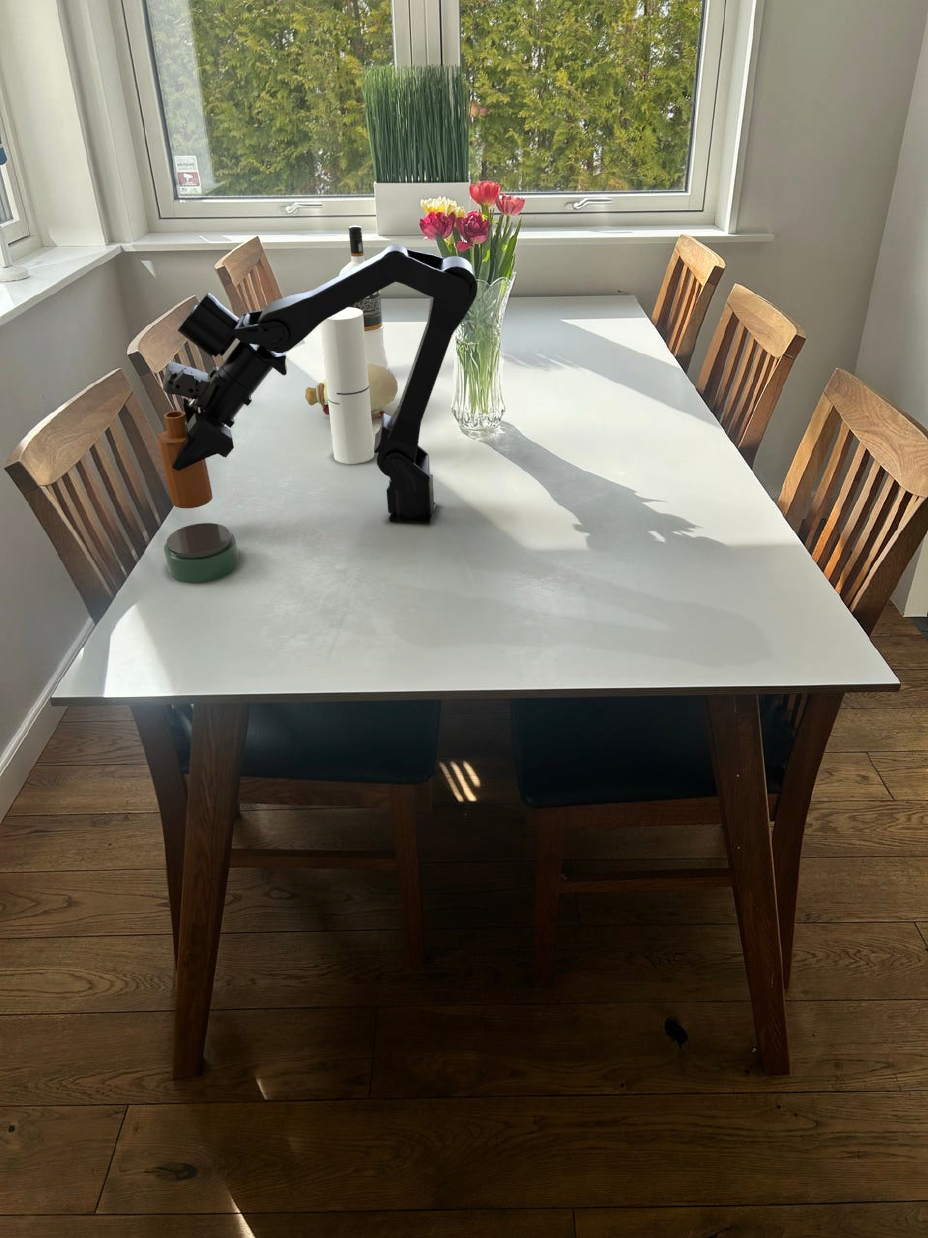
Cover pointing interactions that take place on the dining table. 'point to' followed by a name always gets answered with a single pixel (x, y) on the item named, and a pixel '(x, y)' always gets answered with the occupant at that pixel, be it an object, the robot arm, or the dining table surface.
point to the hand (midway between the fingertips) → (174, 460)
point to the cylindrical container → (348, 386)
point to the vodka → (368, 306)
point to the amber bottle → (191, 481)
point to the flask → (379, 389)
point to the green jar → (201, 553)
